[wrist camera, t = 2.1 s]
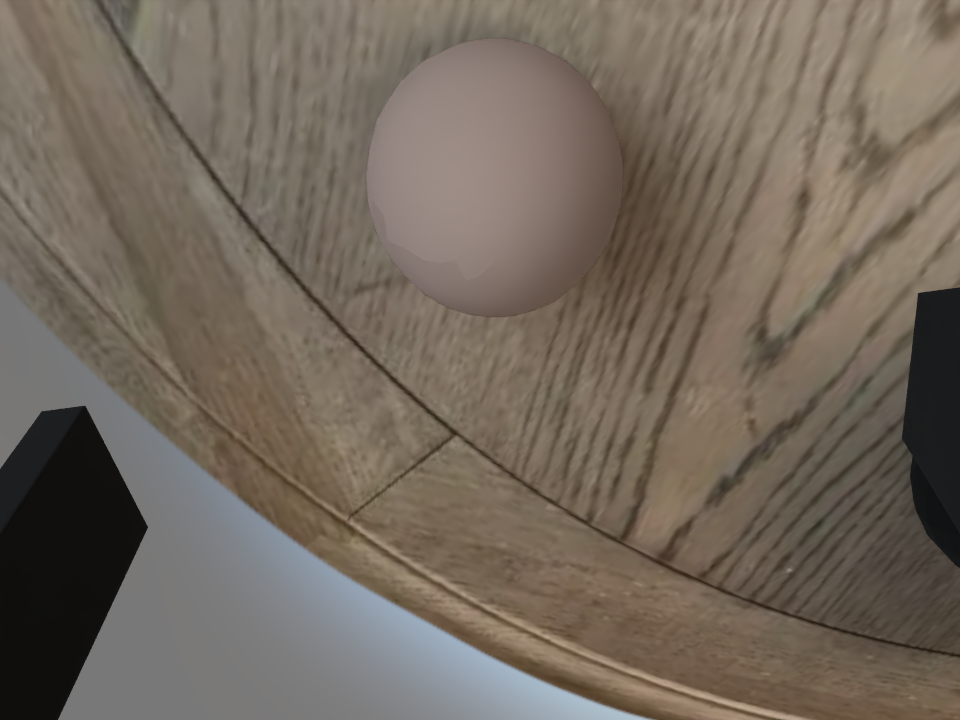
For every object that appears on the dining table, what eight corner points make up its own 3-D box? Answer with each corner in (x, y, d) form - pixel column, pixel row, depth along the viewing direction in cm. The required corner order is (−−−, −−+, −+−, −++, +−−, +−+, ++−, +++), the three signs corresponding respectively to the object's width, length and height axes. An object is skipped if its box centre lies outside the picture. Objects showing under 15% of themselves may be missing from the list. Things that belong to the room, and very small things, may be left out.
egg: (580, 235, 29) (614, 401, 21) (376, 210, 28) (335, 370, 21) (625, 23, 25) (685, 132, 17) (392, -9, 25) (349, 88, 17)
